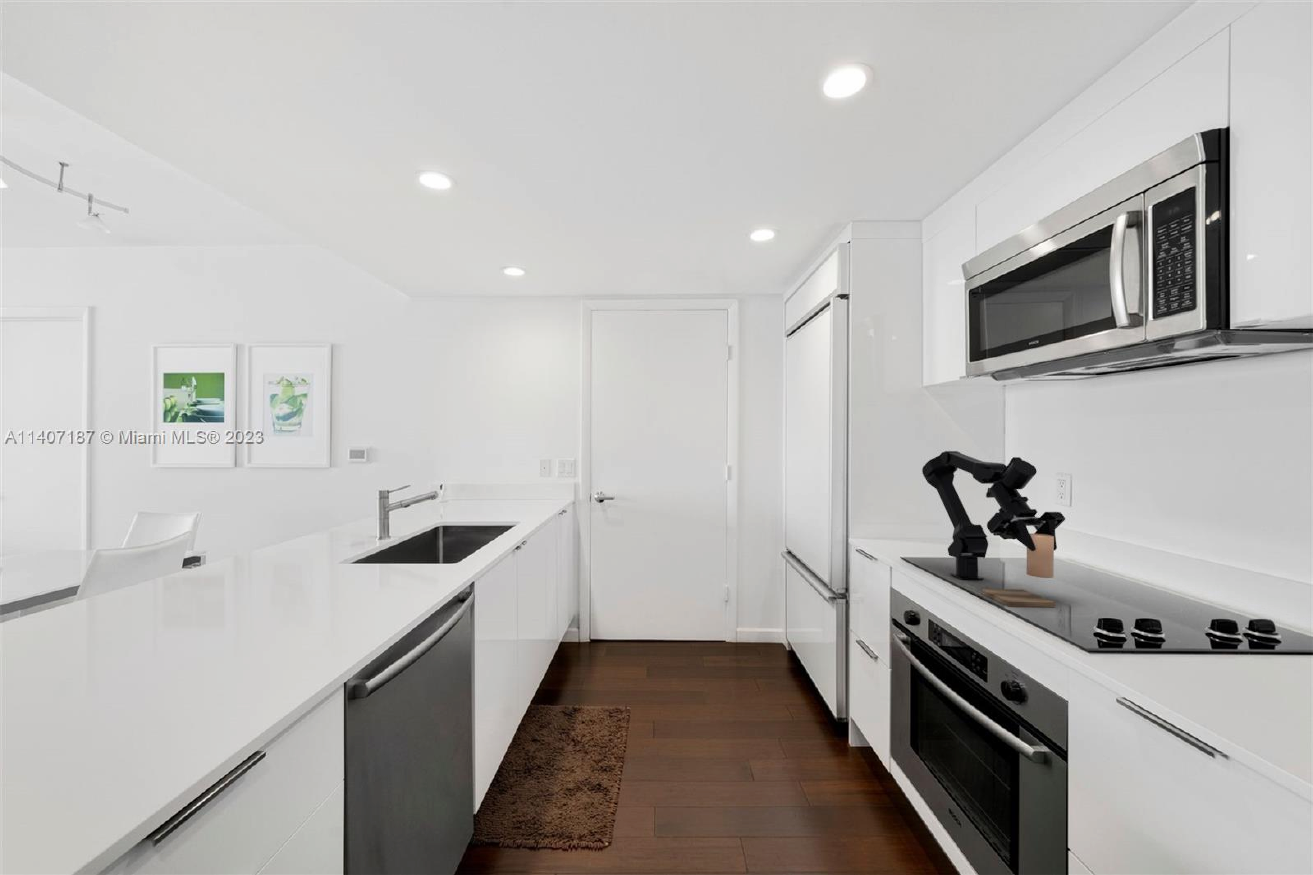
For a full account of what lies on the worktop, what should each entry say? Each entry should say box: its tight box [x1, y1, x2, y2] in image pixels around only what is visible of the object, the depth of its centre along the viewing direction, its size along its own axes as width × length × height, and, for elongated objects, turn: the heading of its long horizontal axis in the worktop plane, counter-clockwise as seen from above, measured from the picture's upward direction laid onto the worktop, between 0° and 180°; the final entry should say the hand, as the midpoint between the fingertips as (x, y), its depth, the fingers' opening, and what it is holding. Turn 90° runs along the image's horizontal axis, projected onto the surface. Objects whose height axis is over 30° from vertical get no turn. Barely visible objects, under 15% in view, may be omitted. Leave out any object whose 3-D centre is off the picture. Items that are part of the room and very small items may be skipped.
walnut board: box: [980, 588, 1056, 608], centre depth 141 cm, size 12×11×1 cm
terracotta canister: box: [1026, 533, 1055, 579], centre depth 140 cm, size 6×6×10 cm
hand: (1044, 549), depth 138 cm, fingers closed on terracotta canister, 6 cm apart
